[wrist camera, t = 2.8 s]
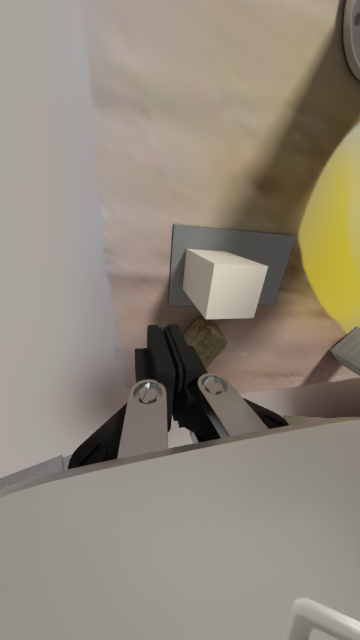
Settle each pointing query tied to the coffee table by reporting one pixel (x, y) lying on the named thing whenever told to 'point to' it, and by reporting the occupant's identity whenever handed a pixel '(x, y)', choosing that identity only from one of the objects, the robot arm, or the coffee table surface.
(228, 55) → the coffee table surface
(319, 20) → the coffee table surface
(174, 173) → the coffee table surface
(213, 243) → the rubber mat
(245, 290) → the cream rectangular block
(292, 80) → the coffee table surface
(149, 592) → the robot arm
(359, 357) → the skincare box
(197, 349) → the stone block
